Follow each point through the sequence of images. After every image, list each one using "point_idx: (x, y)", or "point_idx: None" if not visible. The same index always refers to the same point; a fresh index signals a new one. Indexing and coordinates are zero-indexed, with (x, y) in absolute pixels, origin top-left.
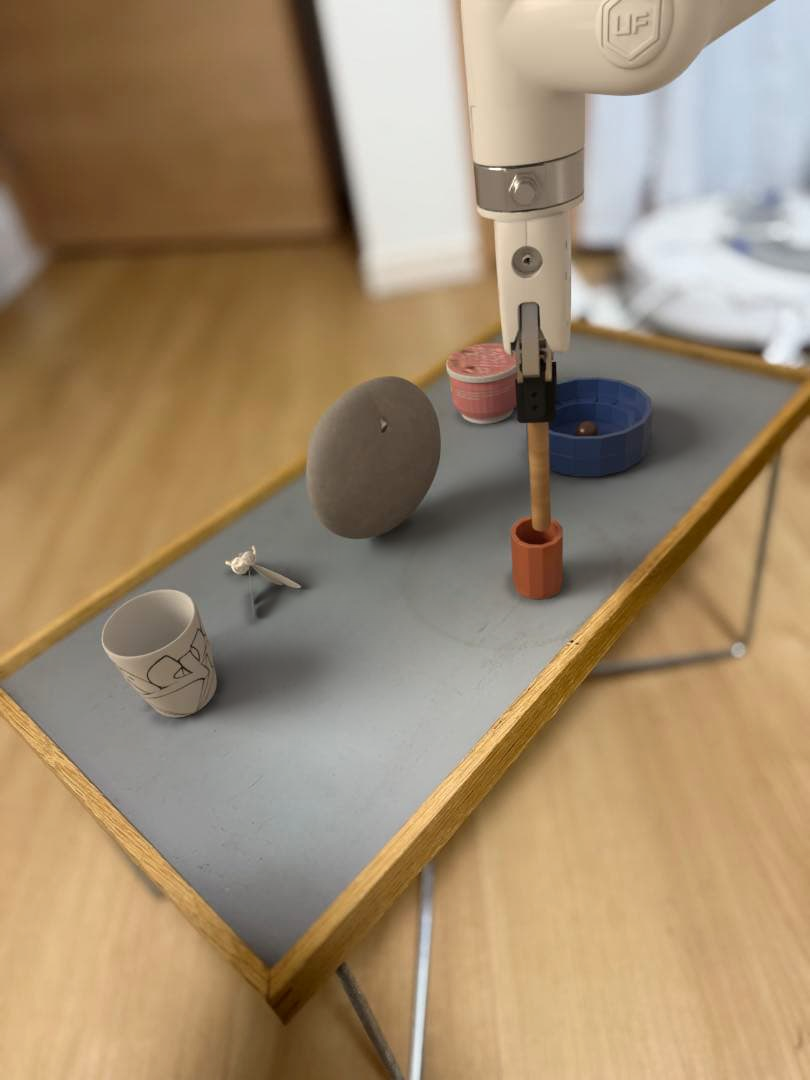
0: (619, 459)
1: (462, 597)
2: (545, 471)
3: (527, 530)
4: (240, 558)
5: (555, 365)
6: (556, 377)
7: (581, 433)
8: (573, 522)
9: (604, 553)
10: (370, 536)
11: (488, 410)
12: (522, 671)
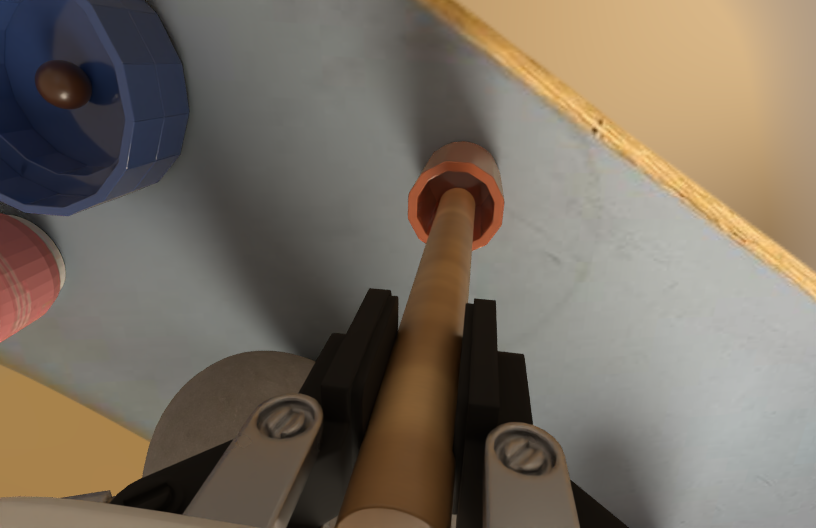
0: (144, 22)
1: (488, 286)
2: (467, 246)
3: (425, 218)
4: None
5: (348, 386)
6: (354, 343)
7: (75, 98)
8: (310, 117)
9: (389, 65)
10: None
11: (43, 266)
12: (646, 204)
